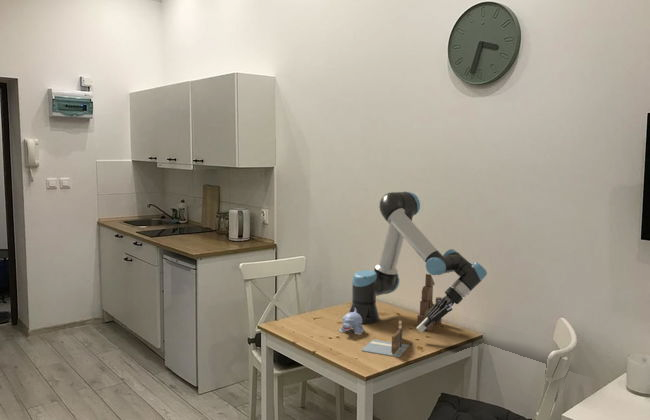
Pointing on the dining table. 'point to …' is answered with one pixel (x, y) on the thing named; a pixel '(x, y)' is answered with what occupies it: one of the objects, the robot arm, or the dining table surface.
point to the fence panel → (400, 324)
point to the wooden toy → (427, 302)
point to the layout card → (383, 348)
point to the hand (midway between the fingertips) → (418, 330)
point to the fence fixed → (396, 341)
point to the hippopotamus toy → (352, 323)
